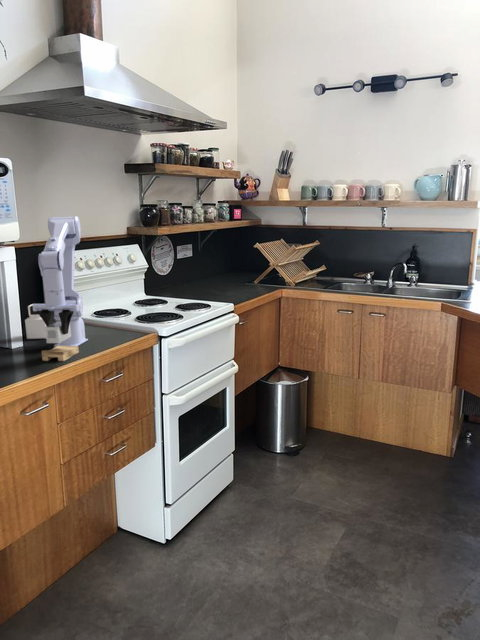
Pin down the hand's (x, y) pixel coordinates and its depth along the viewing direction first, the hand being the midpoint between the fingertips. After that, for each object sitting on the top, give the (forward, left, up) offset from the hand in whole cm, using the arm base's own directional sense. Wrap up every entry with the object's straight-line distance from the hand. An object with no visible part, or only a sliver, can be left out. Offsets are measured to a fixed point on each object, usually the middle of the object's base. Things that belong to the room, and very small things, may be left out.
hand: (58, 333), depth 163 cm
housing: (0, 0, -2) cm, 2 cm away
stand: (0, 0, -7) cm, 7 cm away
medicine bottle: (-24, -21, -8) cm, 33 cm away
